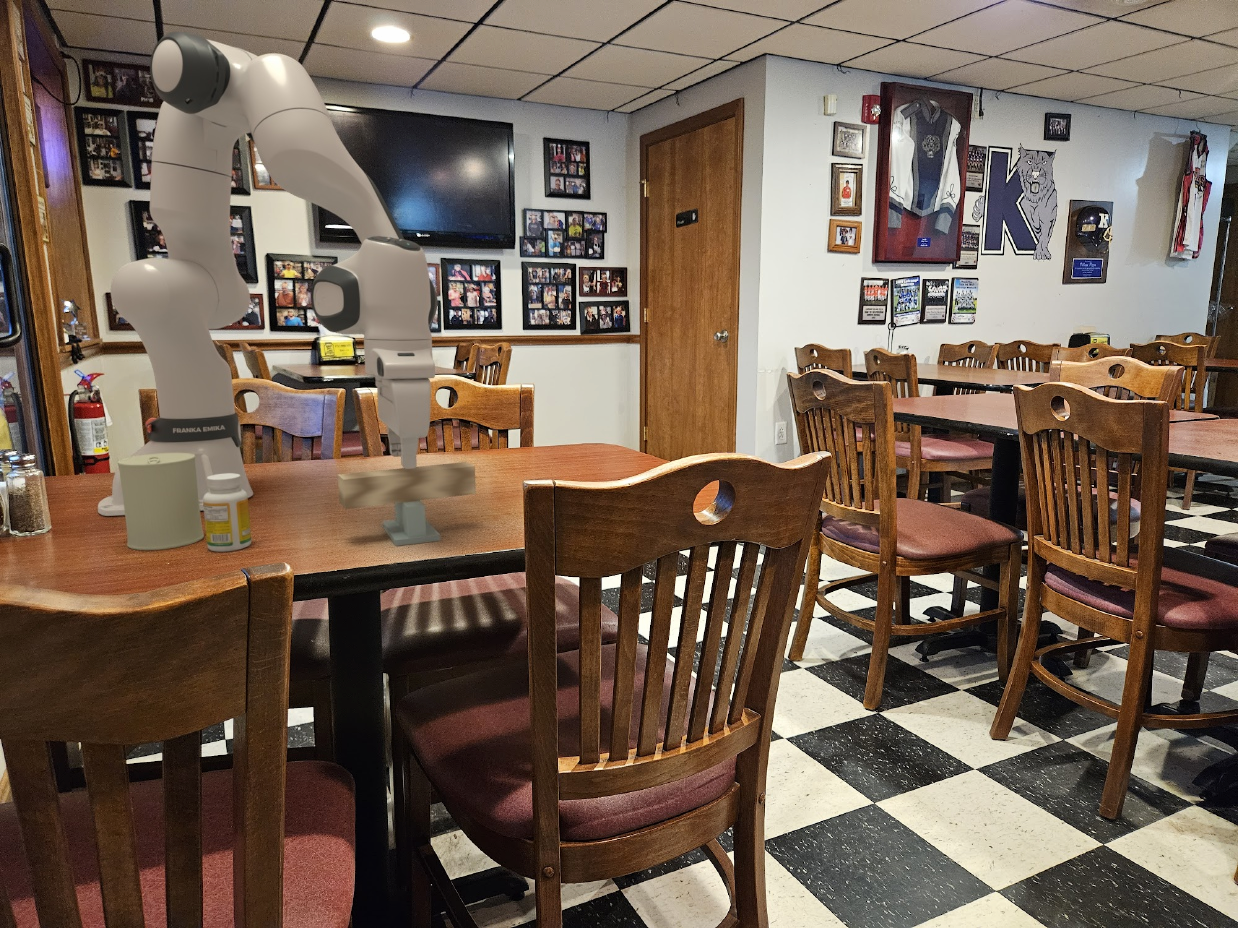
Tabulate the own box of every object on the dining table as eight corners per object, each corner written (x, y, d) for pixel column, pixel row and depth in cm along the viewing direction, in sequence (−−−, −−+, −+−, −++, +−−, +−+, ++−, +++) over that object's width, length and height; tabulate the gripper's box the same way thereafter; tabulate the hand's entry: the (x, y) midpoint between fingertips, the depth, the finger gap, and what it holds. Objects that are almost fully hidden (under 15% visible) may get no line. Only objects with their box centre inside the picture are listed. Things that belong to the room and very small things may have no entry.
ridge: (395, 545, 107) (393, 509, 106) (382, 526, 117) (380, 493, 116) (440, 540, 110) (438, 504, 109) (424, 522, 120) (422, 489, 119)
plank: (345, 509, 107) (343, 479, 106) (339, 503, 110) (337, 474, 109) (475, 493, 115) (474, 466, 115) (466, 488, 119) (465, 461, 118)
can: (122, 554, 105) (110, 463, 102) (132, 536, 113) (122, 452, 111) (201, 545, 108) (192, 457, 106) (206, 529, 117) (197, 447, 114)
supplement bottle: (215, 555, 104) (207, 482, 102) (202, 546, 108) (194, 476, 106) (258, 546, 108) (251, 476, 106) (244, 538, 111) (237, 470, 110)
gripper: (364, 357, 117) (369, 451, 120) (386, 366, 99) (390, 477, 101) (409, 356, 119) (412, 448, 122) (437, 365, 101) (441, 473, 104)
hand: (402, 461), depth 111 cm, fingers open, 8 cm apart
